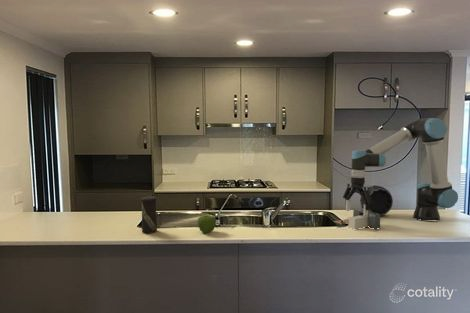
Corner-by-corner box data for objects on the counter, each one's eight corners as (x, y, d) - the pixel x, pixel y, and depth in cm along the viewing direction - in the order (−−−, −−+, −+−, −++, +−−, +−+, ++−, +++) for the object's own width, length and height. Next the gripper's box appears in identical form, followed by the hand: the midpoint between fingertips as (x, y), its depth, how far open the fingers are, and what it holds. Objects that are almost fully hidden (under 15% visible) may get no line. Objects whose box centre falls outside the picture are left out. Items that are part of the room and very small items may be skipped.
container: (138, 232, 204) (137, 197, 203) (147, 228, 212) (146, 194, 211) (151, 234, 201) (150, 198, 200) (160, 230, 210) (159, 195, 208)
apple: (211, 236, 198) (211, 218, 197) (194, 234, 201) (193, 216, 200) (219, 230, 208) (219, 213, 207) (202, 229, 211) (202, 212, 211)
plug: (369, 224, 222) (369, 212, 221) (377, 226, 217) (377, 214, 216) (347, 228, 213) (348, 216, 212) (355, 230, 208) (355, 218, 207)
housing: (357, 222, 225) (358, 208, 224) (380, 229, 210) (380, 214, 209) (353, 223, 223) (353, 209, 222) (375, 230, 208) (375, 214, 208)
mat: (357, 218, 236) (357, 217, 236) (368, 221, 228) (368, 220, 228) (333, 221, 227) (333, 221, 227) (344, 225, 219) (344, 224, 219)
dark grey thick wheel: (357, 214, 247) (358, 184, 245) (385, 213, 249) (386, 184, 248) (365, 218, 236) (365, 187, 235) (394, 217, 238) (395, 186, 237)
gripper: (337, 174, 220) (336, 209, 222) (370, 179, 198) (368, 218, 200) (347, 174, 224) (345, 208, 225) (380, 179, 202) (378, 217, 203)
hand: (356, 213), depth 212 cm, fingers open, 13 cm apart
